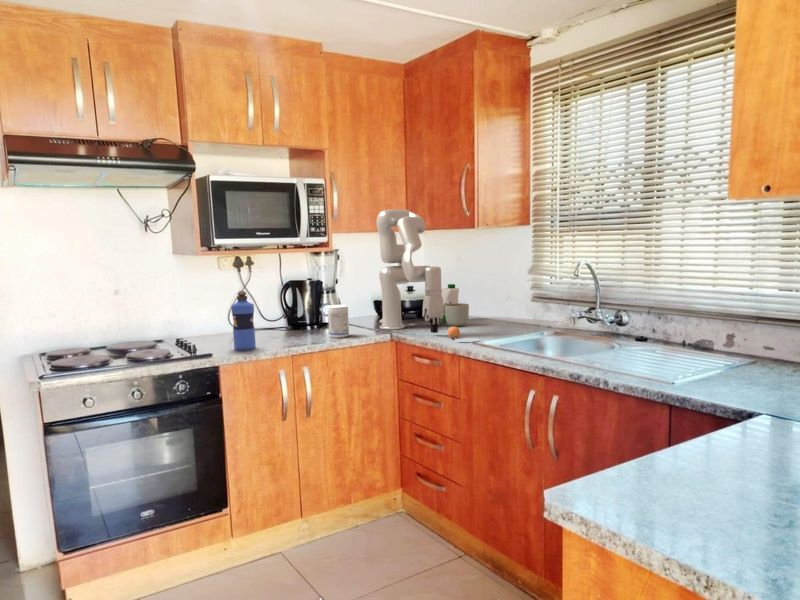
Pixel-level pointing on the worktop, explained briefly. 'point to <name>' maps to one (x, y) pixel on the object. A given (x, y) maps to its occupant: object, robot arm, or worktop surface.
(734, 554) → the worktop surface
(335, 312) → the supplement tub
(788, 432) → the worktop surface
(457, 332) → the ball
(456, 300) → the milk carton
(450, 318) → the planter
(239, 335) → the water bottle
